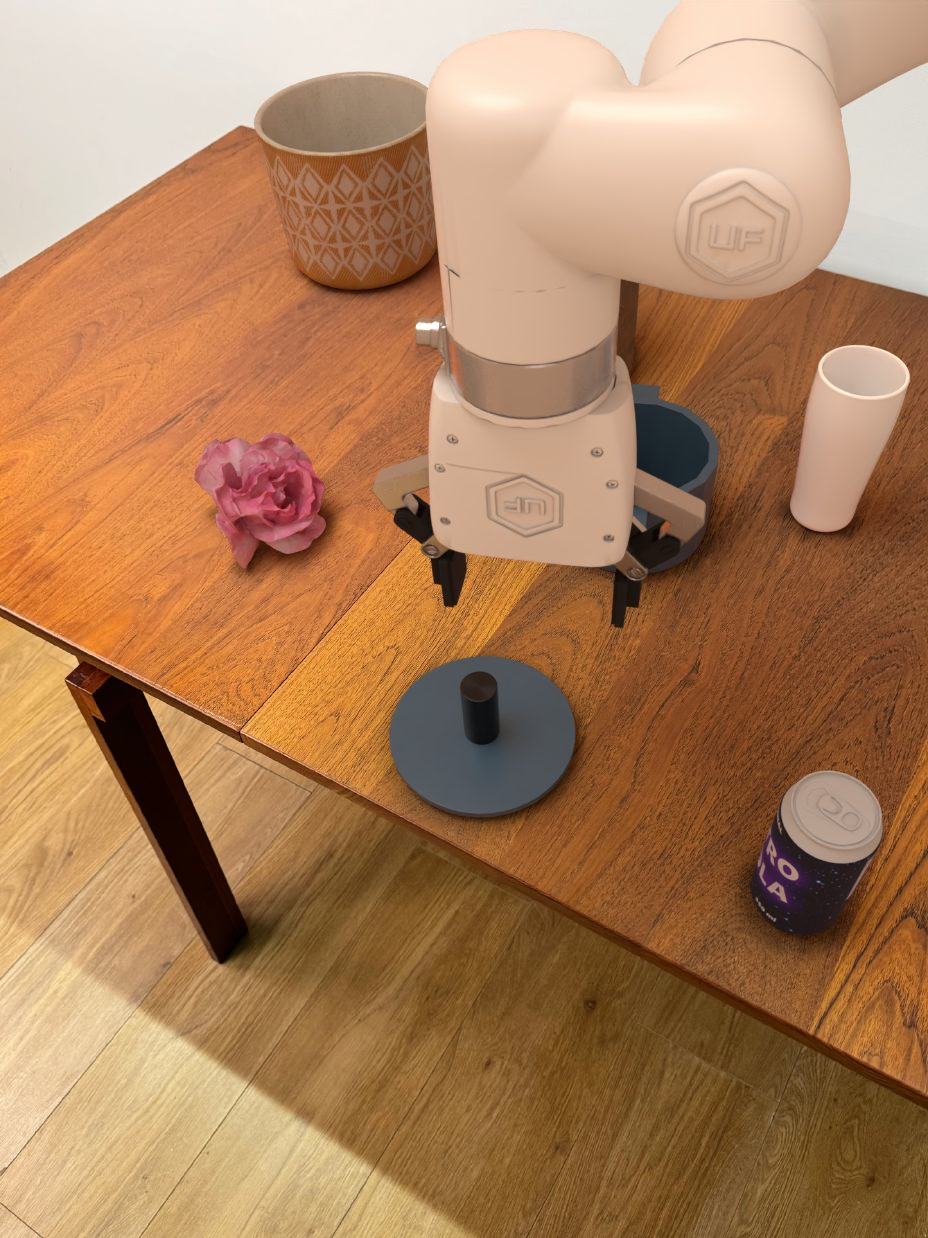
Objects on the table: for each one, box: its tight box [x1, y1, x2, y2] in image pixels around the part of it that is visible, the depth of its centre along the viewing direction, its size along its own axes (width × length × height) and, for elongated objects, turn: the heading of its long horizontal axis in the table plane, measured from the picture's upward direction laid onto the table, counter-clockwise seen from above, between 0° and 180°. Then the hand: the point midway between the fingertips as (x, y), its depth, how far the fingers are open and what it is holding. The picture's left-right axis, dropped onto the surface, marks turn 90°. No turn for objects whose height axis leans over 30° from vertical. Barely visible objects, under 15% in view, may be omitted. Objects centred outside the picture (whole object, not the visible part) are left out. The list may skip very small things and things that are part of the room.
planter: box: [253, 71, 438, 291], centre depth 111 cm, size 19×19×16 cm
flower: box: [194, 432, 327, 569], centre depth 86 cm, size 11×10×10 cm
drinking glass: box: [789, 344, 911, 533], centre depth 80 cm, size 7×7×15 cm
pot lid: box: [388, 655, 577, 818], centre depth 71 cm, size 14×14×7 cm
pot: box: [597, 383, 720, 575], centre depth 84 cm, size 13×18×8 cm
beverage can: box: [750, 770, 884, 936], centre depth 60 cm, size 6×6×12 cm
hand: (536, 598), depth 58 cm, fingers open, 9 cm apart
